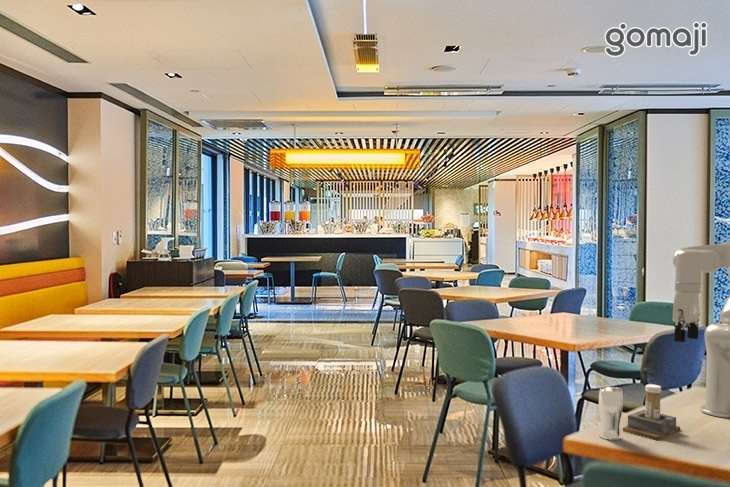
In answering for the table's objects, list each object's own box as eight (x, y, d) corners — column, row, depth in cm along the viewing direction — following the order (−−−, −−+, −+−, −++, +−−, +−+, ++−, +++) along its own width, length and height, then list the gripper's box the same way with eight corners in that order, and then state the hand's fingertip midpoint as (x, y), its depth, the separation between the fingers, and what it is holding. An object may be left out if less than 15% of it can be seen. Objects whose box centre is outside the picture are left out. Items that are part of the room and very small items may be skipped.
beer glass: (623, 441, 189) (625, 392, 189) (599, 439, 191) (601, 391, 190) (619, 434, 196) (620, 387, 196) (596, 432, 198) (597, 385, 197)
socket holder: (646, 421, 210) (647, 408, 210) (680, 429, 202) (680, 416, 201) (622, 430, 200) (623, 416, 200) (657, 440, 191) (657, 425, 191)
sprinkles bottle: (661, 430, 198) (662, 388, 197) (645, 428, 199) (646, 386, 199) (658, 425, 202) (660, 384, 202) (643, 424, 204) (644, 383, 203)
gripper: (687, 285, 214) (685, 335, 214) (664, 288, 203) (662, 341, 203) (710, 287, 208) (709, 338, 208) (688, 290, 197) (686, 344, 197)
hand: (686, 339), depth 206 cm, fingers open, 9 cm apart
